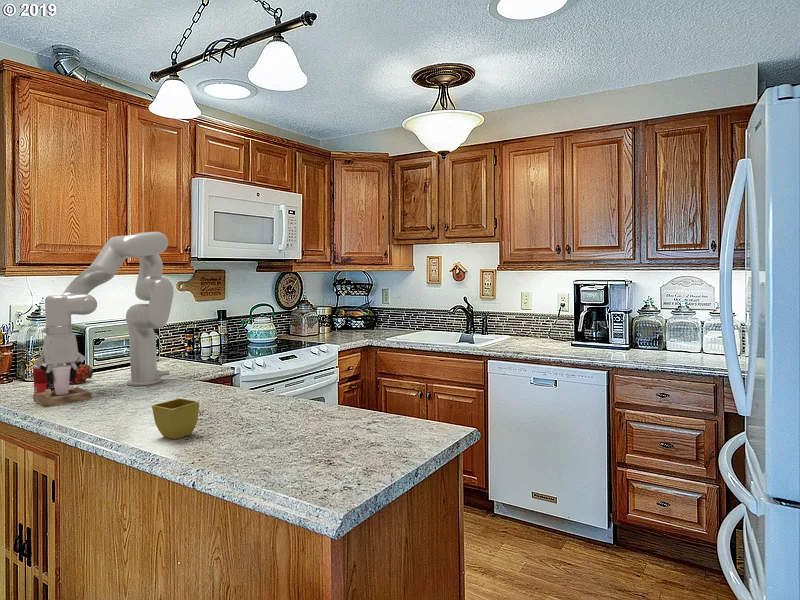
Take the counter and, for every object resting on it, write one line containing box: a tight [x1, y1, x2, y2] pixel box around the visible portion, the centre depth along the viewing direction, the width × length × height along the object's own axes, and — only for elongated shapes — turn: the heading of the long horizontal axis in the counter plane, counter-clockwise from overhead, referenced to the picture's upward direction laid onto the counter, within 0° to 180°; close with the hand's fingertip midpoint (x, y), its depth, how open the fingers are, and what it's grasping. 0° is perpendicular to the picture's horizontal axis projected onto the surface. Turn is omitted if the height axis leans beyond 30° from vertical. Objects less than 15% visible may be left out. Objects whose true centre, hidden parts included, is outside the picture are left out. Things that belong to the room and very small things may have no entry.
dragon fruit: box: [69, 363, 94, 384], centre depth 219 cm, size 8×8×12 cm
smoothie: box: [51, 364, 72, 395], centre depth 189 cm, size 6×6×14 cm
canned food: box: [32, 363, 59, 394], centre depth 199 cm, size 8×8×11 cm
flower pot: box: [151, 398, 200, 440], centre depth 146 cm, size 9×9×9 cm
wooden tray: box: [33, 386, 92, 408], centre depth 189 cm, size 14×14×6 cm
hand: (61, 381), depth 189 cm, fingers closed on smoothie, 6 cm apart
